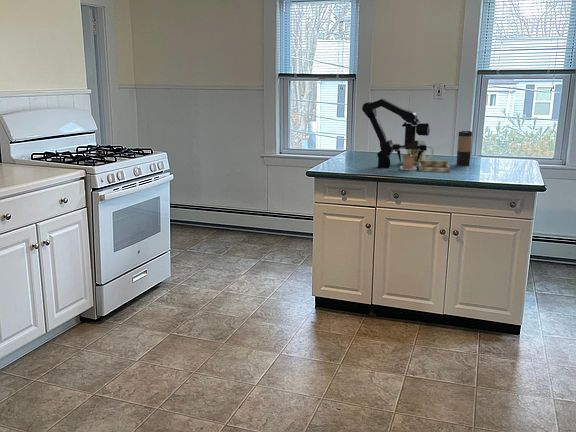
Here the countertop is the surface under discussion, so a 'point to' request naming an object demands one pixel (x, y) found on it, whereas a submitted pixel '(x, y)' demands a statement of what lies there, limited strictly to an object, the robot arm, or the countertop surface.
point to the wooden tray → (433, 166)
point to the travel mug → (464, 148)
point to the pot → (408, 160)
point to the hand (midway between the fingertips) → (408, 162)
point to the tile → (408, 168)
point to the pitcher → (423, 154)
